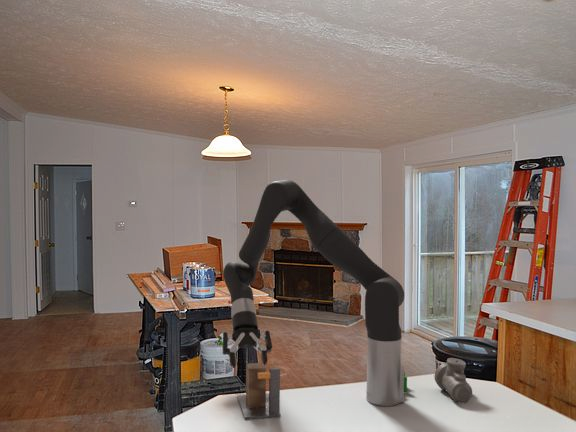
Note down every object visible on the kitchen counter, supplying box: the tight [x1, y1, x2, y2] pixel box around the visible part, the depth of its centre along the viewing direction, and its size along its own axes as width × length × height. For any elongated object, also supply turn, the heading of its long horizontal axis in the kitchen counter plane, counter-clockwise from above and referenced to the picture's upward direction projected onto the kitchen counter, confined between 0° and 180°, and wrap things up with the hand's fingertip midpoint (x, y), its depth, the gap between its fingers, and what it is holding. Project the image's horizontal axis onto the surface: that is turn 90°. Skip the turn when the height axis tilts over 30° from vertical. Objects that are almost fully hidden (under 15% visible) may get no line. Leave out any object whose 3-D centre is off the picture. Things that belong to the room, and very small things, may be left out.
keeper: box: [236, 366, 281, 421], centre depth 131 cm, size 9×15×12 cm, turn 13°
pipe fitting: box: [433, 357, 473, 403], centre depth 140 cm, size 12×8×10 cm
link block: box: [245, 362, 267, 407], centre depth 132 cm, size 4×4×10 cm
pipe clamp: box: [404, 371, 408, 393], centre depth 146 cm, size 11×4×5 cm, turn 175°
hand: (249, 365), depth 141 cm, fingers open, 8 cm apart
